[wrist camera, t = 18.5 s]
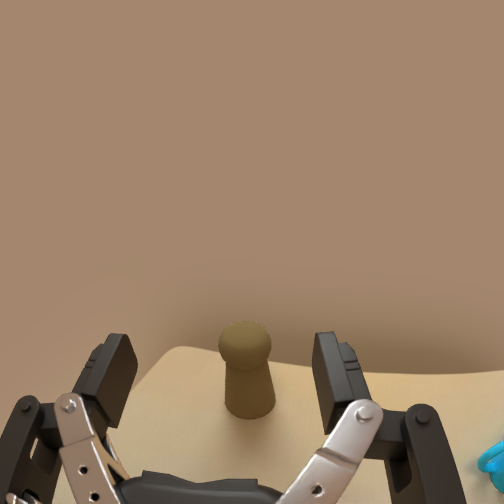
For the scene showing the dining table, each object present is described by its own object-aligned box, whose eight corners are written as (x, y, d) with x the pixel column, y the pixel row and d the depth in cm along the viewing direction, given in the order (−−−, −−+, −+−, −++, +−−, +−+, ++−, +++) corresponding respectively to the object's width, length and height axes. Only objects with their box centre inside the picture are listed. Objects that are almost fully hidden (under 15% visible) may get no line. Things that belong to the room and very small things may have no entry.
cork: (272, 421, 29) (272, 355, 25) (219, 415, 30) (204, 350, 25) (277, 382, 35) (278, 313, 30) (230, 378, 36) (220, 311, 31)
